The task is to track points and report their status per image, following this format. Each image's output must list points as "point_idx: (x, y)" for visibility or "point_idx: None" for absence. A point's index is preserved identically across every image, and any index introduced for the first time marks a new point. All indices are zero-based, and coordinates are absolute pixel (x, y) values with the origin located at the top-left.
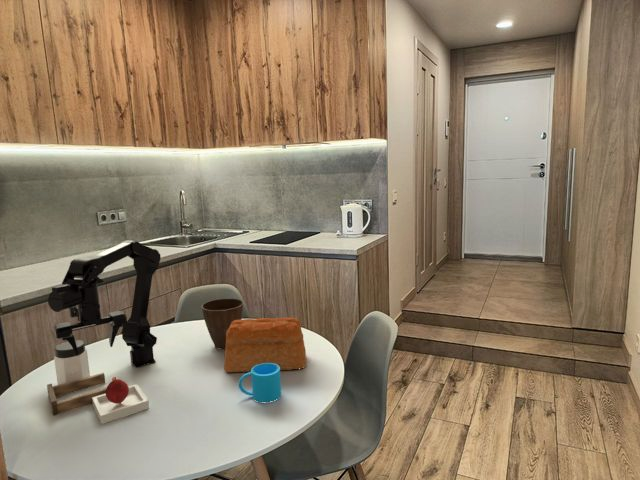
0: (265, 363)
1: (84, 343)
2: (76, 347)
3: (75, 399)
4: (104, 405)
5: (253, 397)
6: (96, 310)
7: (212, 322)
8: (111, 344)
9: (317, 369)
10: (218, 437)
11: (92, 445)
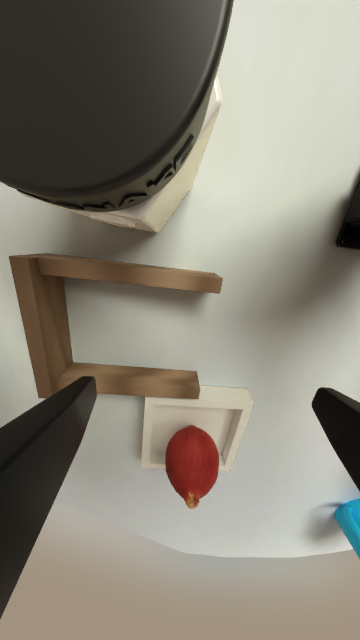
0: None
1: (222, 50)
2: (42, 516)
3: (105, 392)
4: (164, 413)
5: (340, 513)
6: None
7: None
8: (329, 432)
9: None
10: (245, 535)
11: (118, 484)
